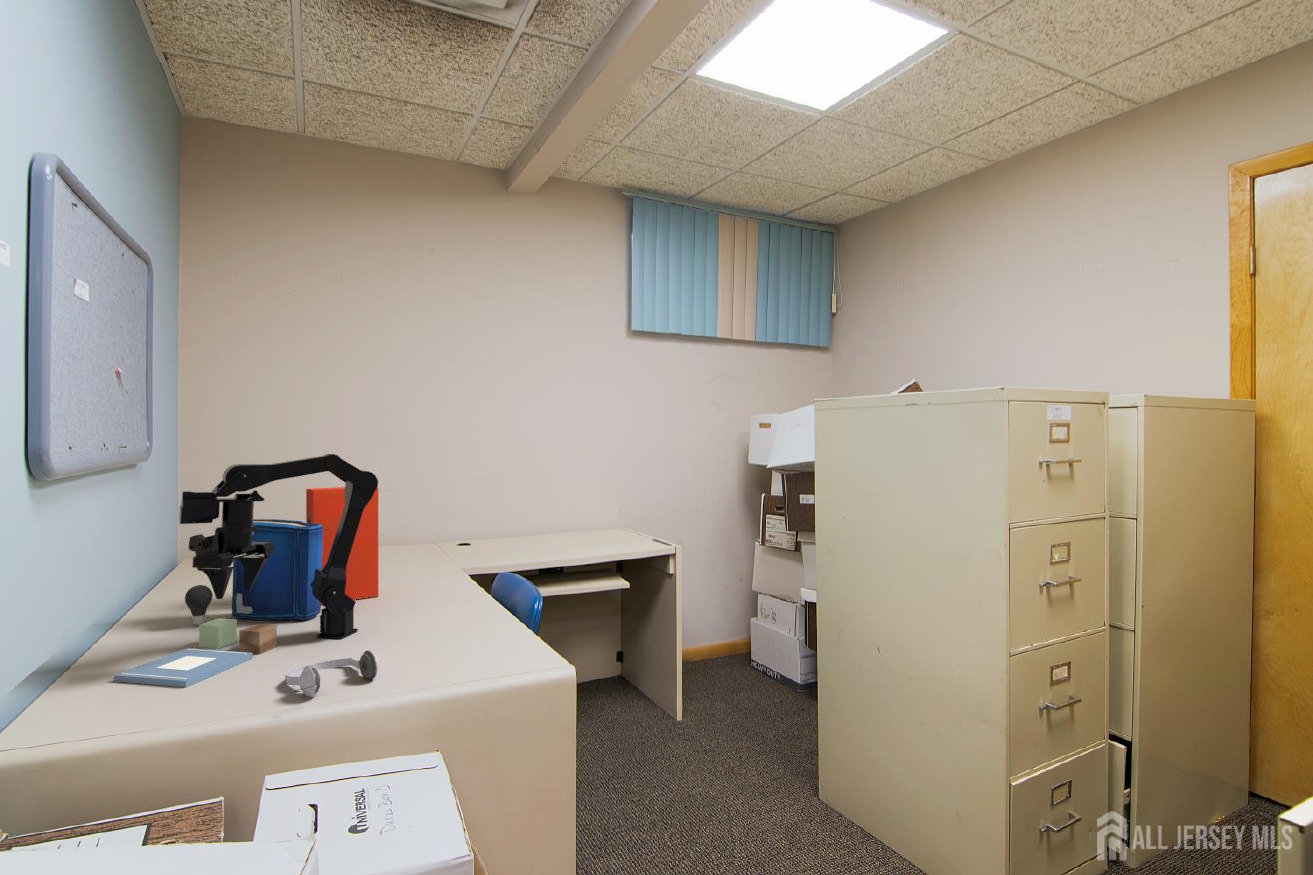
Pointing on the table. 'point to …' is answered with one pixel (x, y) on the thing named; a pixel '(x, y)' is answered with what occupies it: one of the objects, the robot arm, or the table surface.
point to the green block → (217, 633)
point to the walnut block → (258, 638)
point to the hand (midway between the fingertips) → (234, 594)
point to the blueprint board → (183, 667)
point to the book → (281, 573)
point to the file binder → (363, 558)
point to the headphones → (310, 676)
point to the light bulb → (198, 602)
